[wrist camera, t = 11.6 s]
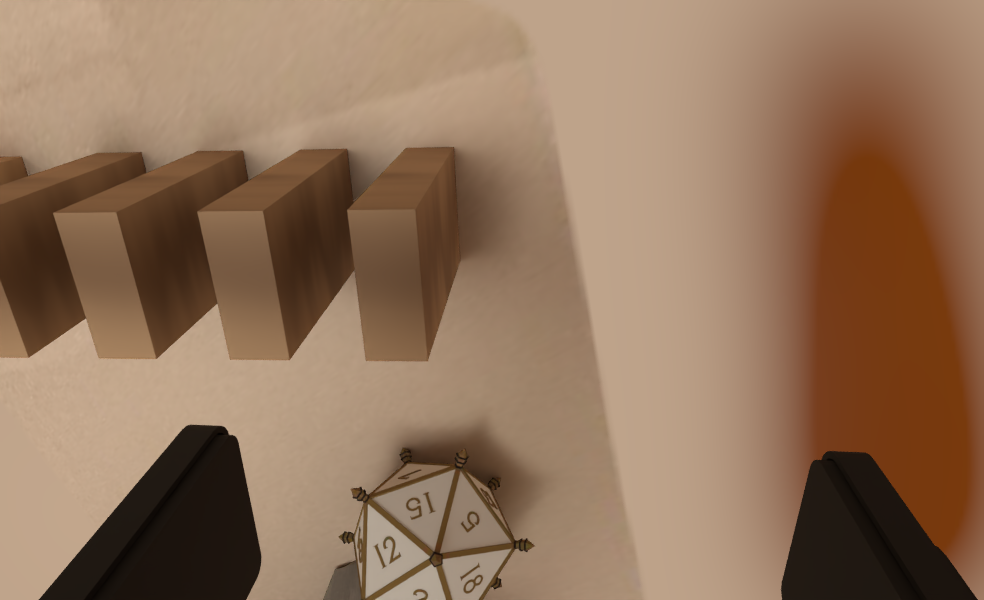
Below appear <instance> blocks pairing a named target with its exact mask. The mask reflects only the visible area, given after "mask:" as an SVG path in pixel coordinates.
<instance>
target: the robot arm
mask: <svg viewBox="0 0 984 600" xmlns="http://www.w3.org/2000/svg"><path fill="white" fill-rule="evenodd" d="M260 566H261V551H260V546H259V541H258V537H257V532H256V527H255V522H254V517H253V512H252V507H251V502H250V497H249V492H248V488H247V483H246V478H245V473H244V468H243V463H242V458H241V453H240V448H239V443H238V440H237V438H236V437H235V436H233V435H229V434H228V431H227V429H226V428H225V427H223V426H209V425H188V426H186V427H185V428H184V429H183V430H182V431H181V432H180V433H179V434H178V435H177V437H176V438H175V439H174V440H173V441H172V443H171V444H170V445H169V446H168V447H167V449H166V450H165V451H164V452H163V453H162V454H161V456H160V457H159V458H158V459H157V460H156V462H155V463H154V464H153V465H152V466H151V467H150V469H149V470H148V471H147V472H146V473H145V475H144V476H143V477H142V478H141V479H140V480H139V482H138V483H137V484H136V485H135V486H134V488H133V489H132V490H131V491H130V492H129V494H128V495H127V496H126V497H125V498H124V499H123V501H122V502H121V503H120V504H119V505H118V507H117V508H116V509H115V510H114V511H113V512H112V514H111V515H110V516H109V517H108V518H107V520H106V521H105V522H104V523H103V524H102V526H101V527H100V528H99V529H98V530H97V531H96V533H95V534H94V535H93V536H92V537H91V539H90V540H89V541H88V542H87V544H85V546H84V547H83V548H82V549H81V551H80V552H79V553H78V554H77V555H76V556H75V558H74V559H73V560H72V561H71V562H70V563H69V565H68V566H67V567H66V568H65V569H64V571H63V572H62V573H61V574H60V575H59V577H58V578H57V579H56V580H55V581H54V583H53V584H52V585H51V586H50V587H49V588H48V590H47V591H46V592H45V593H44V594H43V596H42V597H41V598H40V599H39V600H246V599H247V597H248V595H249V593H250V591H251V589H252V587H253V585H254V583H255V581H256V579H257V577H258V574H259V571H260ZM781 592H782V600H978V599H977V598H976V597H975V595H974V594H973V593H972V591H971V590H970V588H969V587H968V586H967V584H966V583H965V581H964V580H963V579H962V577H961V576H960V574H959V573H958V572H957V570H956V569H955V567H954V566H953V565H952V563H951V562H950V560H949V559H948V558H947V556H946V555H945V554H944V553H943V552H942V551H941V550H940V549H939V548H938V547H937V546H935V545H934V544H933V543H932V541H931V540H930V538H929V537H928V536H927V534H926V533H925V531H924V530H923V529H922V527H921V526H920V524H919V523H918V521H917V520H916V519H915V517H914V516H913V514H912V513H911V512H910V510H909V509H908V507H907V506H906V504H905V503H904V502H903V500H902V499H901V498H900V496H899V495H898V493H897V492H896V490H895V489H894V488H893V486H892V485H891V483H890V482H889V480H888V479H887V478H886V476H885V475H884V473H883V472H882V471H881V469H880V468H879V466H878V465H877V464H876V462H875V461H874V460H873V458H872V457H871V456H870V455H869V454H867V453H860V452H837V451H828V452H826V453H825V454H824V455H823V457H822V460H815V461H813V462H812V464H811V466H810V470H809V474H808V478H807V482H806V486H805V490H804V495H803V498H802V502H801V507H800V511H799V515H798V519H797V523H796V527H795V531H794V535H793V539H792V544H791V547H790V551H789V556H788V560H787V564H786V568H785V572H784V576H783V580H782V586H781Z"/></svg>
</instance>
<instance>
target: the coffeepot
mask: <svg viewBox="0 0 984 600" xmlns="http://www.w3.org/2000/svg"><path fill="white" fill-rule="evenodd" d="M323 600H361V593H360V586H359V578H358V571H357V563H356V561H354V562H351V563H350V564H348V565H347V566H345V567H342V568H339V569H335V571H334V574H333V576H332V579H331V581H330V584H329V586H328V589H327V591H326V594H325V596H324V599H323Z"/></svg>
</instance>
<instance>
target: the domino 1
mask: <svg viewBox="0 0 984 600" xmlns="http://www.w3.org/2000/svg"><path fill="white" fill-rule="evenodd" d="M27 176H28V175H27V172H26V169H25V166H24V163H23V160H22V157H0V185H3V184H6V183H9V182H12V181H15V180H18V179H21V178H24V177H27Z"/></svg>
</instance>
